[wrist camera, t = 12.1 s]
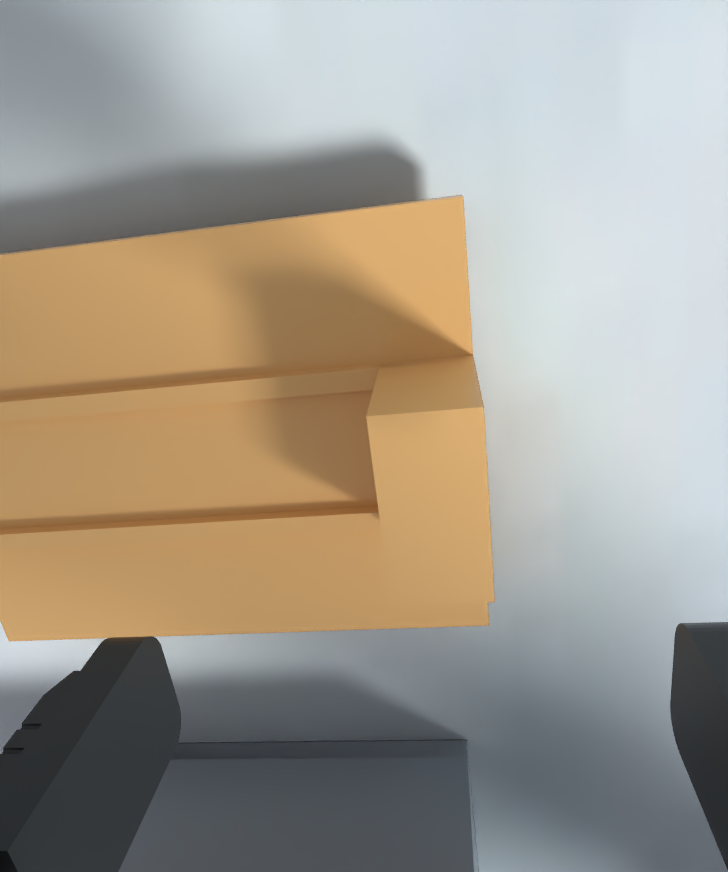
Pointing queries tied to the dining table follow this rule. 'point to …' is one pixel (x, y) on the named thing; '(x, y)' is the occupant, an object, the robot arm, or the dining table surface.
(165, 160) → the dining table surface
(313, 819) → the tub
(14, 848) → the robot arm
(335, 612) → the lid
